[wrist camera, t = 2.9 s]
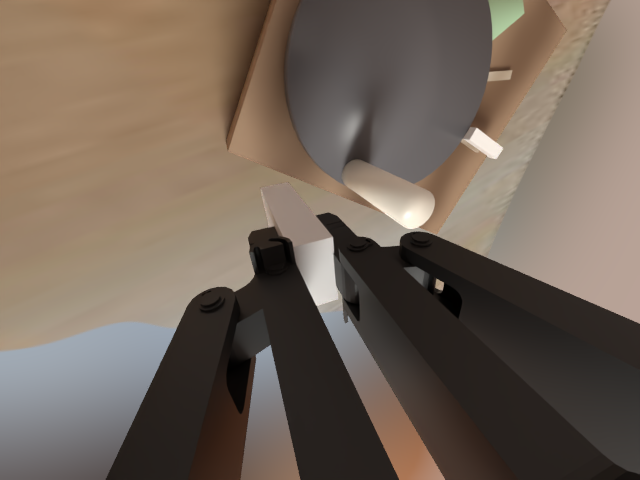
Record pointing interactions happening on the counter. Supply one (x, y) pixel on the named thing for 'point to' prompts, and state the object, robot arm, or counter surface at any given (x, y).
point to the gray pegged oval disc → (388, 92)
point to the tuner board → (460, 167)
